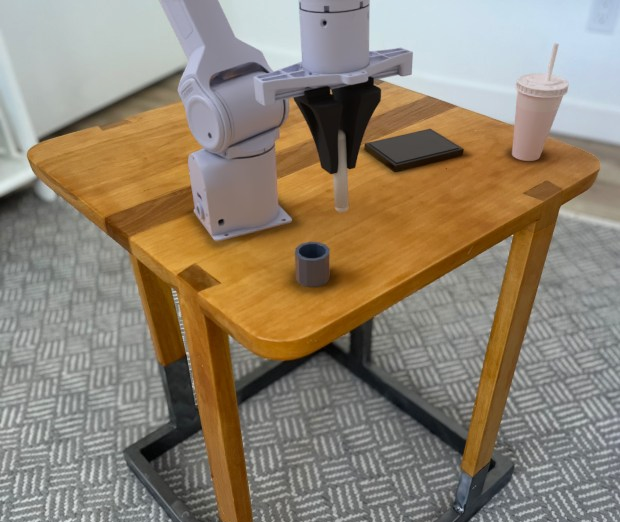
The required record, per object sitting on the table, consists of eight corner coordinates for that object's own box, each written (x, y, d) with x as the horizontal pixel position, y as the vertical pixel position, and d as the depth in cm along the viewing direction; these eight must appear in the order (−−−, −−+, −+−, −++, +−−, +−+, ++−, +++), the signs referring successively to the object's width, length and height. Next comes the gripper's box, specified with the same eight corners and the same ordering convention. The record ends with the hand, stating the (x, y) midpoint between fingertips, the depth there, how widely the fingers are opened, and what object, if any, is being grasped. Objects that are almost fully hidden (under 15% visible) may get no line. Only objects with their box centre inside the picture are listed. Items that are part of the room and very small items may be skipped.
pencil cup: (305, 293, 61) (304, 263, 59) (290, 276, 64) (289, 246, 61) (335, 284, 62) (335, 254, 60) (320, 267, 65) (319, 238, 62)
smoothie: (552, 167, 81) (582, 53, 72) (502, 163, 82) (525, 50, 73) (548, 147, 86) (576, 37, 76) (501, 143, 87) (522, 35, 77)
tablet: (394, 172, 81) (395, 164, 80) (364, 149, 86) (364, 142, 85) (463, 155, 84) (464, 148, 84) (429, 134, 90) (430, 127, 89)
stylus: (339, 216, 60) (334, 133, 55) (332, 211, 61) (327, 129, 56) (351, 212, 61) (348, 129, 56) (344, 208, 62) (340, 126, 57)
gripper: (272, 28, 45) (287, 202, 53) (437, -1, 49) (426, 164, 58) (236, 12, 50) (255, 174, 58) (389, -13, 54) (385, 141, 63)
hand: (338, 167), depth 58 cm, fingers closed on stylus, 1 cm apart
